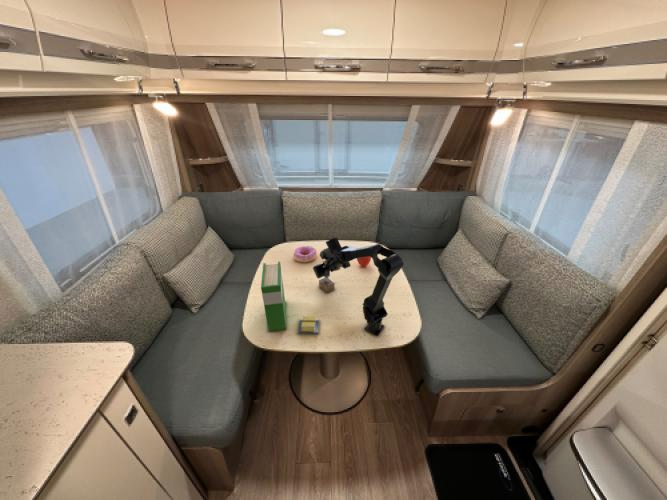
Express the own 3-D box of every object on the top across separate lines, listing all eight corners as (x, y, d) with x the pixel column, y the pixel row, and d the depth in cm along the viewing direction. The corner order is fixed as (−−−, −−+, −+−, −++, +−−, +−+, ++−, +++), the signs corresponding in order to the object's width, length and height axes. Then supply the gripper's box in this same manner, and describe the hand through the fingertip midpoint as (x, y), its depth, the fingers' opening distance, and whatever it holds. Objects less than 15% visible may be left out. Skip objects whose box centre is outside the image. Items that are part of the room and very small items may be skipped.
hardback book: (270, 304, 131) (263, 263, 119) (285, 302, 132) (280, 261, 120) (268, 331, 116) (260, 287, 104) (285, 329, 117) (280, 285, 105)
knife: (330, 284, 140) (329, 262, 133) (326, 286, 139) (326, 264, 132) (326, 281, 142) (326, 259, 135) (323, 283, 141) (322, 261, 134)
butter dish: (319, 321, 120) (318, 315, 119) (317, 333, 114) (317, 327, 112) (300, 321, 121) (300, 315, 119) (298, 333, 114) (297, 327, 113)
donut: (292, 253, 172) (291, 246, 169) (313, 250, 176) (313, 243, 173) (296, 265, 160) (295, 258, 158) (319, 261, 164) (319, 254, 161)
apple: (361, 260, 164) (362, 245, 159) (373, 265, 160) (374, 250, 154) (353, 266, 159) (354, 251, 153) (365, 272, 154) (366, 256, 148)
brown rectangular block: (334, 289, 140) (334, 283, 138) (326, 292, 138) (326, 286, 136) (326, 282, 145) (326, 276, 143) (319, 286, 143) (318, 280, 141)
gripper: (345, 240, 130) (332, 250, 143) (314, 252, 120) (302, 262, 133) (356, 260, 129) (341, 269, 142) (324, 274, 119) (312, 282, 132)
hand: (324, 270), depth 137 cm, fingers closed on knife, 2 cm apart
